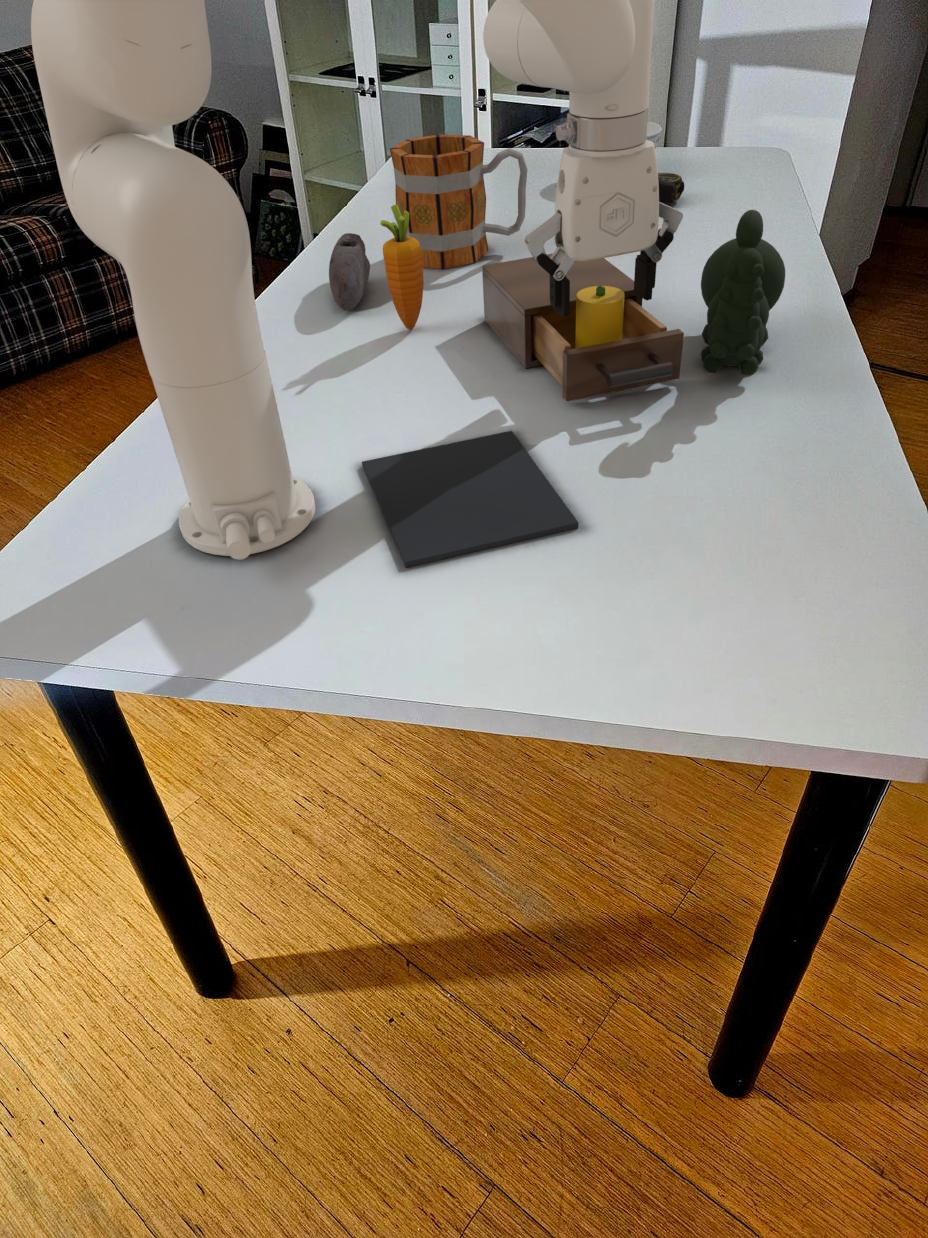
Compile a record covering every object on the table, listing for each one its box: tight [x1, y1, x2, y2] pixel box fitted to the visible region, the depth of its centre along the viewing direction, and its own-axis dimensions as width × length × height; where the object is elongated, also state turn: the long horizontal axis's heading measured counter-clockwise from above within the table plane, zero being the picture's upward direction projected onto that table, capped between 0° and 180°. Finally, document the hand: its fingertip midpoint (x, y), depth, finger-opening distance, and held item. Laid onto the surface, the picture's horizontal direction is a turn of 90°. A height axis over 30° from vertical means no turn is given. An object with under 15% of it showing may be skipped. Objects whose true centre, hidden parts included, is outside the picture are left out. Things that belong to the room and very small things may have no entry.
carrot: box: [379, 204, 425, 331], centre depth 110 cm, size 5×5×15 cm
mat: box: [361, 430, 579, 568], centre depth 84 cm, size 18×16×1 cm
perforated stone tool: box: [328, 232, 371, 312], centre depth 122 cm, size 15×5×7 cm, turn 178°
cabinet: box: [481, 253, 644, 369], centre depth 109 cm, size 16×15×7 cm
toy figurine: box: [699, 209, 786, 376], centre depth 99 cm, size 9×19×25 cm
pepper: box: [575, 285, 625, 349], centre depth 98 cm, size 5×5×8 cm
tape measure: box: [658, 172, 685, 205], centre depth 148 cm, size 7×7×4 cm
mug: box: [389, 134, 529, 270], centre depth 131 cm, size 20×14×15 cm
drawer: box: [531, 297, 685, 402], centre depth 99 cm, size 19×13×5 cm
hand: (602, 303), depth 97 cm, fingers open, 9 cm apart
